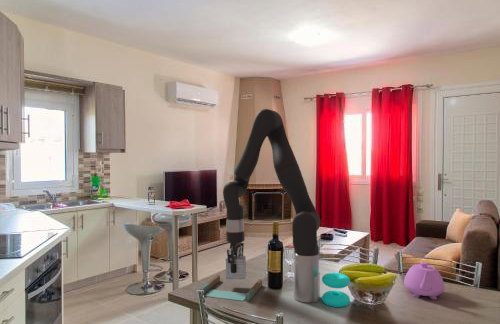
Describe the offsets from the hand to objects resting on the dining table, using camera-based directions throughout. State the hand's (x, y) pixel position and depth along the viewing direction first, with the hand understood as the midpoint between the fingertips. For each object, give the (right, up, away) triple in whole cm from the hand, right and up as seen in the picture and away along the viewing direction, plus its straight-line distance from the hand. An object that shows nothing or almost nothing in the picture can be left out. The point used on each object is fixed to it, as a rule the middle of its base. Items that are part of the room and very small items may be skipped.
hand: (236, 270), depth 150 cm
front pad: (-3, -7, -9) cm, 12 cm away
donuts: (+37, -7, -16) cm, 41 cm away
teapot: (+73, -7, -9) cm, 74 cm away
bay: (-2, -7, -4) cm, 8 cm away
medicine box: (0, -3, 0) cm, 3 cm away
